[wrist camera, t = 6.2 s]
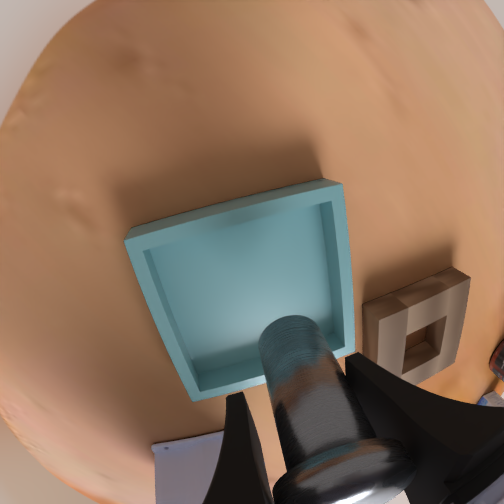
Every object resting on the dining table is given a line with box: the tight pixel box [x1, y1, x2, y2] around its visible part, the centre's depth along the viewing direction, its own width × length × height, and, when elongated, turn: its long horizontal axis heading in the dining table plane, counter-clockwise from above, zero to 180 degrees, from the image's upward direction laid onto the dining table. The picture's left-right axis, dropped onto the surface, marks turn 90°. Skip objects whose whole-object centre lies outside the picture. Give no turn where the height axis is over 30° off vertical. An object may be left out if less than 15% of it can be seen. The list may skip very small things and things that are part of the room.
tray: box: [124, 178, 355, 402], centre depth 19 cm, size 12×12×2 cm
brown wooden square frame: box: [362, 267, 471, 385], centre depth 24 cm, size 10×10×2 cm
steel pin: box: [258, 315, 416, 504], centre depth 11 cm, size 4×4×9 cm
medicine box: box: [477, 391, 504, 407], centre depth 34 cm, size 8×4×9 cm, turn 169°
